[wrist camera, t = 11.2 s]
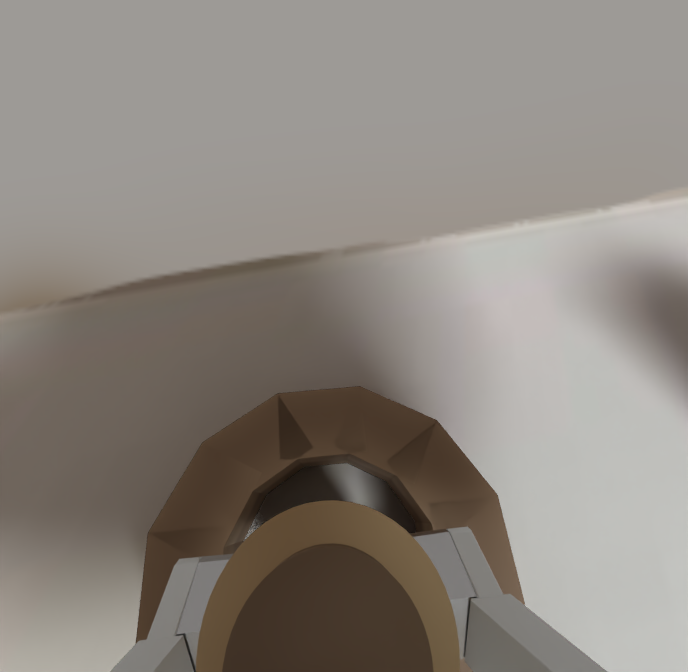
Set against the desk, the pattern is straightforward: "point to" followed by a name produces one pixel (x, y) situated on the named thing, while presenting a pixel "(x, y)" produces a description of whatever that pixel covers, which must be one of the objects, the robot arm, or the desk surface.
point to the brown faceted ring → (313, 450)
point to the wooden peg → (329, 599)
